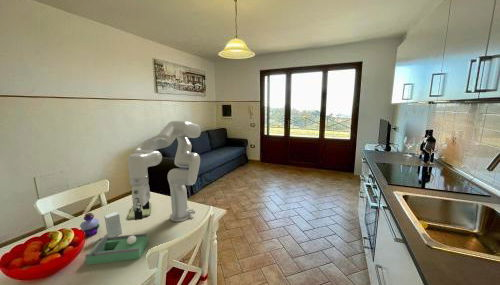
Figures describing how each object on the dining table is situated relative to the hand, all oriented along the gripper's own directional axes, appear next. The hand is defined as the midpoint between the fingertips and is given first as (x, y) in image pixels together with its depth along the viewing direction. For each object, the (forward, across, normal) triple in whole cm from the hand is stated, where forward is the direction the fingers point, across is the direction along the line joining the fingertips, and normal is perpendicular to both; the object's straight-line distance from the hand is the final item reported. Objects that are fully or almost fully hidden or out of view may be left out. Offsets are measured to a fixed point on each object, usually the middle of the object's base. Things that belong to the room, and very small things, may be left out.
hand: (142, 213), depth 99 cm
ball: (+13, 0, +6) cm, 14 cm away
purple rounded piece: (+19, +18, +34) cm, 43 cm away
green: (+19, -1, +12) cm, 22 cm away
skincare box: (+19, +15, +21) cm, 32 cm away
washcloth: (+19, +39, +16) cm, 47 cm away
